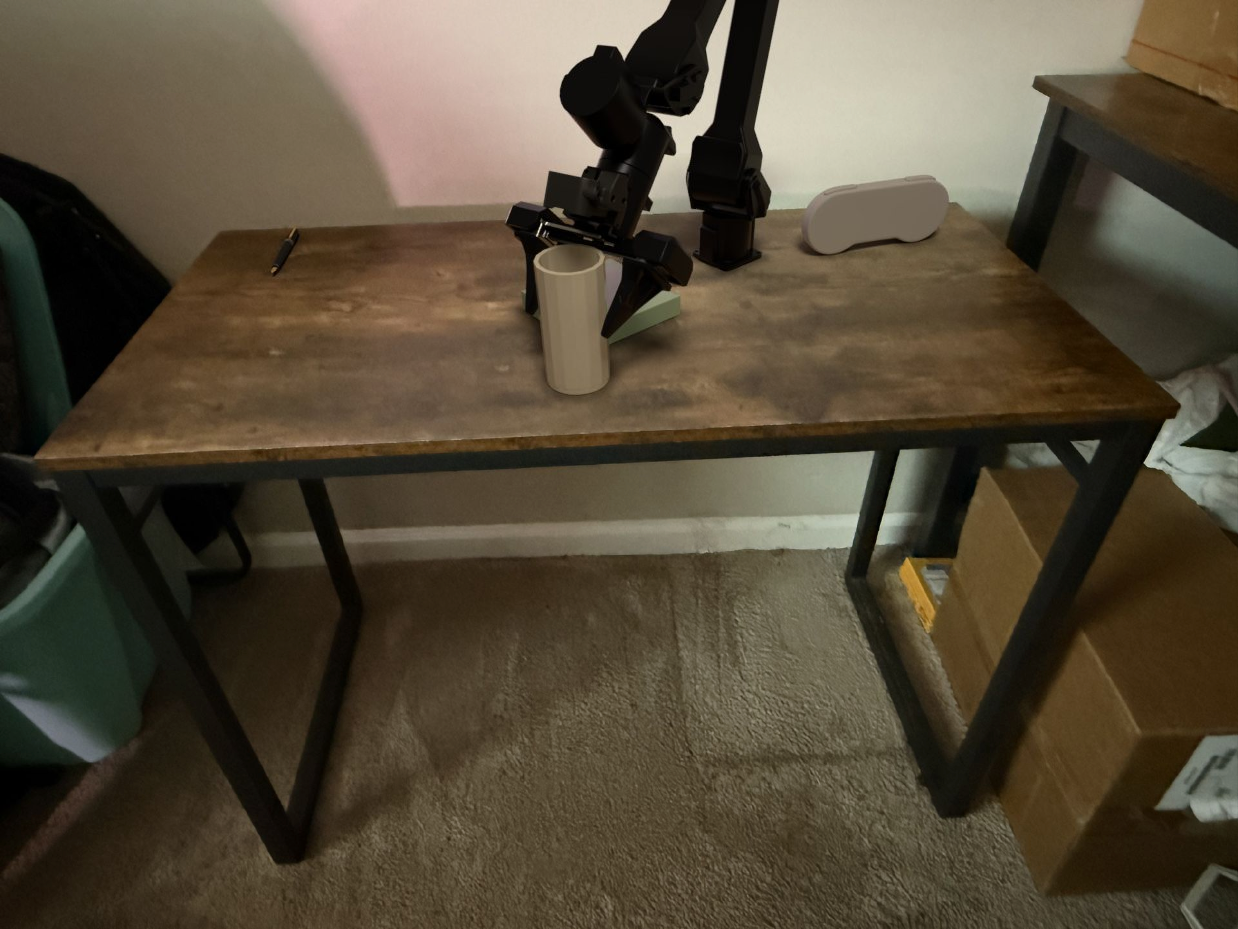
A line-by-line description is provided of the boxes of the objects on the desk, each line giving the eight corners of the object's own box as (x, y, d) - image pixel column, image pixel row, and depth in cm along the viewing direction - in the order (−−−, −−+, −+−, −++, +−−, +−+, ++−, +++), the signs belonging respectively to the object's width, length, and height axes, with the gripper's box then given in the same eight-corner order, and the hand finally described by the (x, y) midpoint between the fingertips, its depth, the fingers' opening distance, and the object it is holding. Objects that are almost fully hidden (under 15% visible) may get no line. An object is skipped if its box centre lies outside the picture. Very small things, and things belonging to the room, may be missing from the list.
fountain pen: (277, 278, 103) (274, 267, 102) (268, 279, 103) (264, 268, 102) (302, 232, 114) (299, 222, 113) (293, 233, 114) (290, 223, 113)
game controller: (932, 231, 107) (946, 168, 102) (942, 238, 105) (956, 174, 100) (796, 252, 104) (803, 187, 98) (804, 259, 102) (811, 194, 97)
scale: (611, 276, 100) (610, 253, 98) (680, 314, 92) (680, 290, 90) (523, 309, 94) (520, 286, 92) (588, 353, 86) (587, 329, 84)
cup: (585, 353, 86) (577, 237, 78) (622, 379, 82) (618, 259, 74) (534, 375, 83) (520, 257, 75) (570, 402, 79) (560, 281, 71)
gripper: (505, 115, 75) (443, 272, 74) (680, 145, 66) (610, 322, 66) (562, 174, 84) (507, 312, 84) (720, 207, 76) (660, 360, 76)
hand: (565, 325), depth 78 cm, fingers open, 9 cm apart
